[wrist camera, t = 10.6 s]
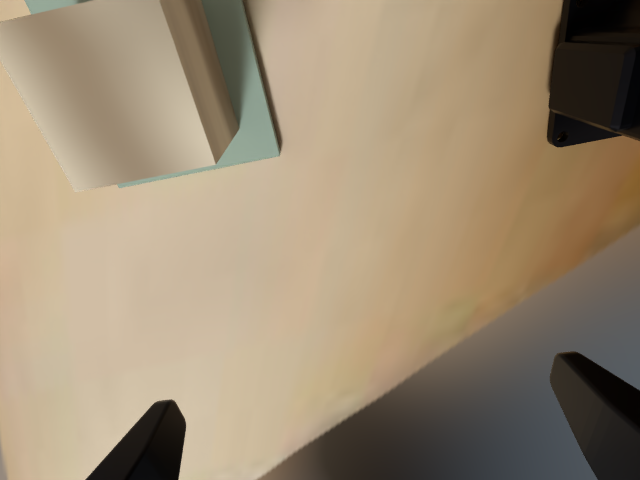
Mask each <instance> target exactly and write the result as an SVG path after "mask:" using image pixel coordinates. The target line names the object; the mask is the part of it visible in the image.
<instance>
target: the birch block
mask: <svg viewBox="0 0 640 480" xmlns="http://www.w3.org/2000/svg"><path fill="white" fill-rule="evenodd" d="M0 61H1V63H2V65H3V66H4V68H5V70H6V72H7V73H8V75H9V77H10V79H11V80H12V82H13V84H14V86H15V87H16V89H17V91H18V93H19V94H20V96H21V98H22V100H23V101H24V103H25V105H26V107H27V108H28V110H29V112H30V114H31V115H32V117H33V119H34V121H35V123H36V124H37V126H38V128H39V130H40V131H41V133H42V135H43V137H44V138H45V140H46V142H47V144H48V145H49V147H50V149H51V151H52V152H53V154H54V156H55V158H56V159H57V161H58V163H59V165H60V166H61V168H62V170H63V172H64V173H65V175H66V177H67V179H68V180H69V182H70V184H71V186H72V188H73V189H74V191H75V192H80V191H85V190H90V189H95V188H101V187H106V186H111V185H116V184H121V183H126V182H131V181H136V180H141V179H146V178H151V177H156V176H161V175H167V174H172V173H177V172H182V171H187V170H192V169H197V168H202V167H207V166H212V165H216V164H217V162H218V161H219V159H220V158H221V156H222V155H223V153H224V152H225V150H226V149H227V147H228V146H229V144H230V143H231V141H232V140H233V138H234V137H235V135H236V134H237V132H238V130H239V126H238V122H237V119H236V116H235V112H234V109H233V105H232V102H231V99H230V95H229V92H228V89H227V85H226V82H225V78H224V75H223V72H222V68H221V65H220V61H219V58H218V55H217V51H216V48H215V45H214V41H213V38H212V34H211V31H210V28H209V24H208V21H207V17H206V14H205V11H204V7H203V4H202V1H201V0H92V1H88V2H84V3H79V4H75V5H71V6H66V7H62V8H58V9H53V10H49V11H45V12H40V13H36V14H32V15H28V16H23V17H19V18H15V19H10V20H6V21H2V22H0Z"/></svg>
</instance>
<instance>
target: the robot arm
mask: <svg viewBox="0 0 640 480" xmlns="http://www.w3.org/2000/svg"><path fill="white" fill-rule="evenodd" d="M549 109H551V110H550V118H549V126H548V134H547V140H548V142H549V143H550V144H552V145H554V146H556V147H565V146H570V145H576V144H581V143H586V142H591V141H596V140H602V139H607V138H612V137H617V136H622V135H623V136H626V137H629V138H632V139H635V140H638V141H640V0H582V3H581V4H580V5H579V6H577V5H576V0H564V4H563V12H562V20H561V28H560V37H559V45H558V47H557V48H556V50H555V56H554V64H553V73H552V81H551V89H550V98H549ZM561 132H563V136H562V137H561V138H560V139H558V140H557V137H558V135H559V134H560V133H561ZM550 383H551V387H552V389H553V391H554V393H555V395H556V397H557V400H558V402H559V404H560V406H561V408H562V410H563V412H564V415H565V417H566V418H567V421H568V423H569V425H570V427H571V430H572V432H573V434H574V436H575V438H576V440H577V442H578V445H579V446H580V449H581V451H582V452H583V455H584V456H585V458H586V460H587V462H588V464H589V465H590V467H591V469H592V471H593V472H594V474H595V475H596V477H597V479H598V480H640V390H638V389H636V388H635V387H633V386H632V385H630V384H628V383H627V382H625V381H624V380H622V379H620V378H619V377H617V376H615V375H614V374H612V373H611V372H609V371H607V370H606V369H604V368H603V367H601V366H599V365H598V364H596V363H595V362H593V361H591V360H590V359H588V358H587V357H585V356H583V355H582V354H580V353H578V352H563V353H558V354H557V355H556V356H555V358H554V362H553V365H552V369H551V374H550ZM185 432H186V422H185V418H184V416H183V415H182V413H181V411H180V409H179V407H178V406H177V404H176V402H175V401H174V400H162V401H157V402H155V403H154V404H153V405H152V406H151V407H150V408H149V409H148V410H147V412H146V413H145V414H144V415H143V416H142V417H141V418H140V419H139V421H138V422H137V423H136V424H135V425H134V426H133V427H132V428H131V429H130V431H129V432H128V433H127V434H126V435H125V436H124V437H123V438H122V439H121V441H120V442H119V443H118V444H117V445H116V446H115V447H114V448H113V450H112V451H111V452H110V453H109V454H108V455H107V456H106V457H105V458H104V460H103V461H102V462H101V463H100V464H99V465H98V466H97V467H96V469H95V470H94V471H93V472H92V473H91V474H90V475H89V476H88V477H87V479H86V480H178V479H179V472H180V465H181V459H182V452H183V445H184V438H185Z"/></svg>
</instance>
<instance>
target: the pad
mask: <svg viewBox="0 0 640 480" xmlns="http://www.w3.org/2000/svg"><path fill="white" fill-rule="evenodd" d="M88 1H92V0H25V2H26V4H27V6H28V8H29V10H30V12H31V14H36V13H40V12H45V11H49V10H53V9H58V8H62V7H66V6H71V5H75V4H79V3H84V2H88ZM201 1H202V4H203V7H204V11H205V14H206V17H207V21H208V24H209V28H210V31H211V34H212V38H213V41H214V45H215V48H216V51H217V55H218V58H219V61H220V65H221V68H222V72H223V75H224V78H225V82H226V85H227V89H228V92H229V95H230V99H231V102H232V105H233V109H234V112H235V116H236V119H237V122H238V126H239V130H238V132H237V134H236V135H235V137H234V138H233V140H232V141H231V143H230V144H229V146H228V147H227V149H226V150H225V152H224V153H223V155H222V156H221V158H220V159H219V161H218V162H217V164H216V165H212V166H207V167H202V168H197V169H192V170H187V171H182V172H177V173H172V174H167V175H161V176H156V177H151V178H146V179H141V180H136V181H131V182H126V183H121V184H117V185H118V187H119V188H123V187H127V186H132V185H137V184H142V183H147V182H152V181H157V180H162V179H167V178H172V177H177V176H182V175H187V174H192V173H197V172H202V171H207V170H212V169H217V168H222V167H227V166H232V165H237V164H242V163H247V162H252V161H257V160H262V159H267V158H272V157H277V156H280V148H279V144H278V140H277V136H276V132H275V128H274V124H273V120H272V116H271V112H270V109H269V105H268V101H267V97H266V93H265V89H264V85H263V81H262V77H261V73H260V69H259V65H258V61H257V57H256V53H255V49H254V45H253V41H252V37H251V33H250V29H249V25H248V21H247V17H246V13H245V9H244V5H243V1H242V0H201Z"/></svg>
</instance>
